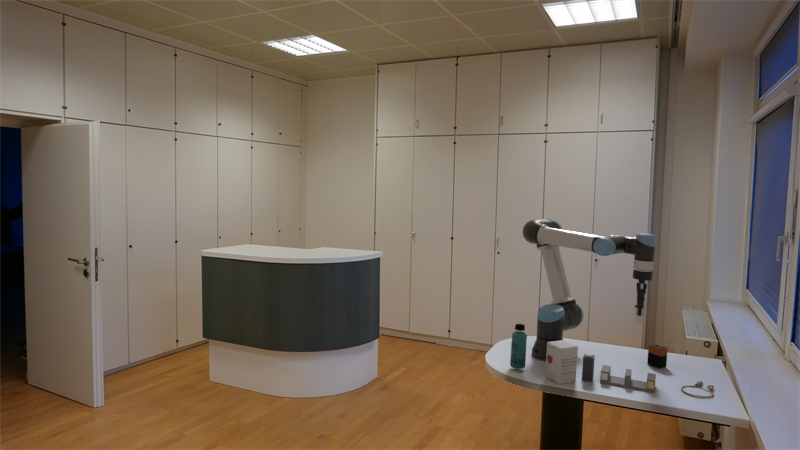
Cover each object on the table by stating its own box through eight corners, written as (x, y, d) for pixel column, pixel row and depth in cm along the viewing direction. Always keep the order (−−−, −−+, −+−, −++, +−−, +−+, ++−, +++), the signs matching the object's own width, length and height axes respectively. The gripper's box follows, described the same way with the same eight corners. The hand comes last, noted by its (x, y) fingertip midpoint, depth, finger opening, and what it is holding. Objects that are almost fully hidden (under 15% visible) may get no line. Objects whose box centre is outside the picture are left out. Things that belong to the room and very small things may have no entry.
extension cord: (728, 396, 206) (729, 391, 205) (697, 401, 201) (698, 396, 200) (701, 384, 217) (702, 379, 217) (671, 388, 212) (672, 383, 212)
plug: (581, 380, 217) (583, 355, 216) (583, 376, 221) (584, 352, 220) (592, 382, 215) (593, 356, 214) (593, 378, 219) (594, 354, 218)
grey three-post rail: (600, 382, 215) (600, 371, 214) (602, 376, 222) (603, 364, 221) (654, 393, 205) (655, 380, 205) (655, 386, 213) (655, 374, 212)
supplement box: (544, 376, 220) (546, 341, 218) (561, 373, 224) (563, 339, 222) (559, 384, 212) (561, 348, 210) (576, 381, 215) (578, 345, 214)
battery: (660, 369, 232) (661, 347, 231) (646, 364, 238) (648, 342, 237) (666, 367, 234) (668, 345, 233) (653, 362, 240) (654, 341, 239)
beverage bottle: (513, 366, 231) (515, 321, 229) (527, 369, 227) (530, 324, 225) (507, 370, 226) (509, 324, 224) (521, 374, 222) (524, 327, 220)
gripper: (653, 276, 211) (648, 327, 213) (652, 266, 234) (647, 313, 236) (633, 273, 214) (628, 324, 216) (633, 264, 237) (629, 310, 239)
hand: (638, 318), depth 226 cm, fingers open, 13 cm apart
